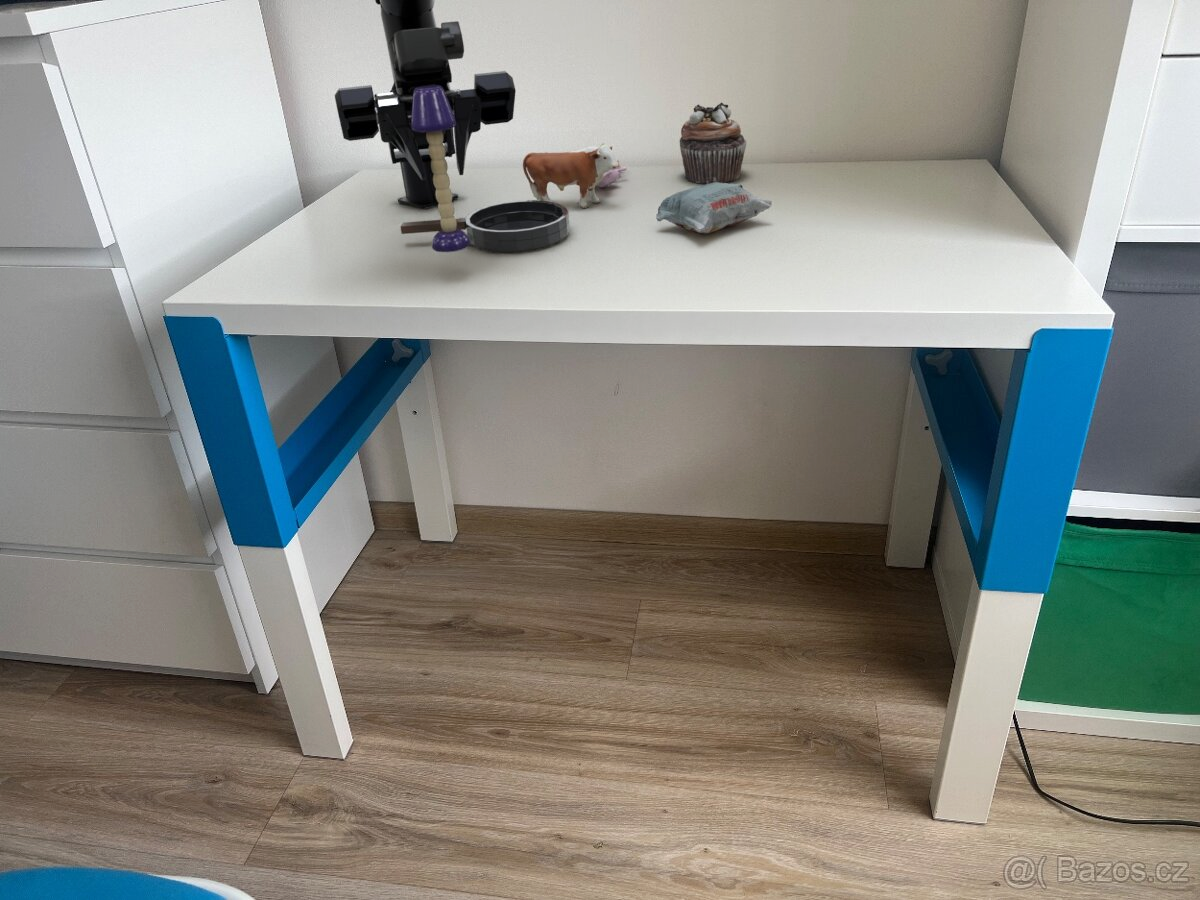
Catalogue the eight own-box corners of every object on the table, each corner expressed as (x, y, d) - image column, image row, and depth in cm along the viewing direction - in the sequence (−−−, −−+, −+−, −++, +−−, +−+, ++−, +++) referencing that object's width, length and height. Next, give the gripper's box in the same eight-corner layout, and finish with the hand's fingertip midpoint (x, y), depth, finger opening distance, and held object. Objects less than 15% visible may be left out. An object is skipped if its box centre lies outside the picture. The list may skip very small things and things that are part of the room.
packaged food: (770, 223, 109) (772, 183, 106) (699, 246, 103) (698, 205, 100) (722, 210, 115) (723, 172, 112) (652, 231, 109) (651, 191, 107)
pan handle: (467, 225, 110) (465, 217, 109) (465, 229, 108) (464, 221, 108) (403, 230, 110) (402, 222, 109) (401, 234, 108) (400, 226, 108)
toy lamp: (423, 245, 98) (397, 87, 89) (459, 235, 101) (437, 80, 92) (444, 255, 95) (418, 93, 86) (480, 245, 97) (460, 85, 88)
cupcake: (683, 187, 125) (682, 114, 119) (677, 170, 133) (676, 100, 128) (750, 183, 124) (752, 109, 119) (740, 166, 133) (741, 96, 127)
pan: (447, 242, 110) (443, 220, 109) (521, 215, 118) (518, 194, 116) (516, 261, 102) (513, 238, 101) (590, 232, 110) (589, 210, 109)
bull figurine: (618, 211, 117) (615, 148, 113) (523, 209, 120) (517, 148, 116) (625, 201, 121) (623, 140, 116) (533, 200, 124) (527, 140, 119)
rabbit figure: (591, 181, 135) (571, 193, 122) (590, 140, 133) (569, 148, 119) (631, 181, 134) (615, 192, 120) (630, 140, 132) (614, 147, 118)
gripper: (315, 2, 86) (342, 142, 83) (501, -14, 90) (534, 119, 86) (331, 75, 97) (356, 202, 93) (497, 58, 100) (526, 179, 97)
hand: (442, 175), depth 92 cm, fingers closed on toy lamp, 4 cm apart
